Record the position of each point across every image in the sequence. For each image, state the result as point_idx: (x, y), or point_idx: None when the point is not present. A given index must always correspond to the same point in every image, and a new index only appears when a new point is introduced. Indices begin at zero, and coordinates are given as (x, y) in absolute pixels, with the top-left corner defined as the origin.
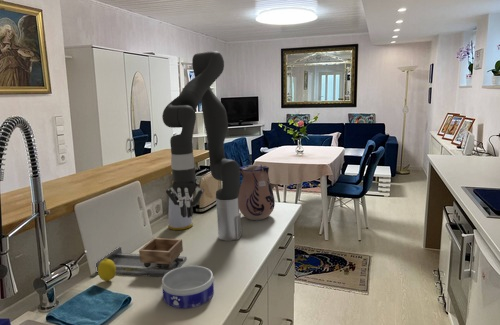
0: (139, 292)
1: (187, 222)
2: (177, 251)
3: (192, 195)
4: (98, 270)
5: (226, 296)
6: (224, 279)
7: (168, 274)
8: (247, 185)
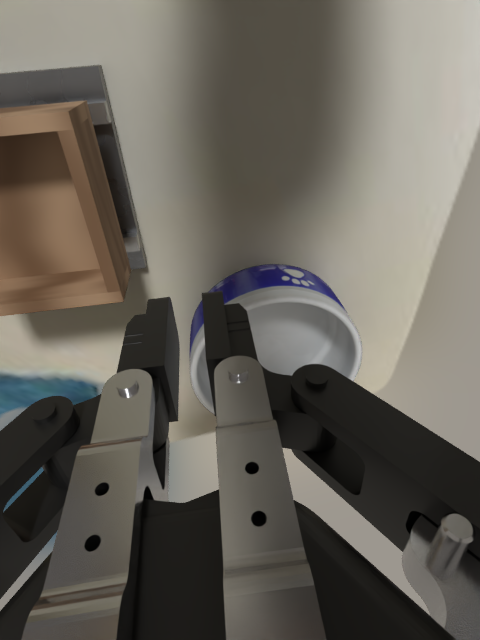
0: (107, 359)
1: None
2: (103, 191)
3: (282, 459)
4: None
5: (381, 312)
6: (358, 222)
7: (197, 367)
8: None
